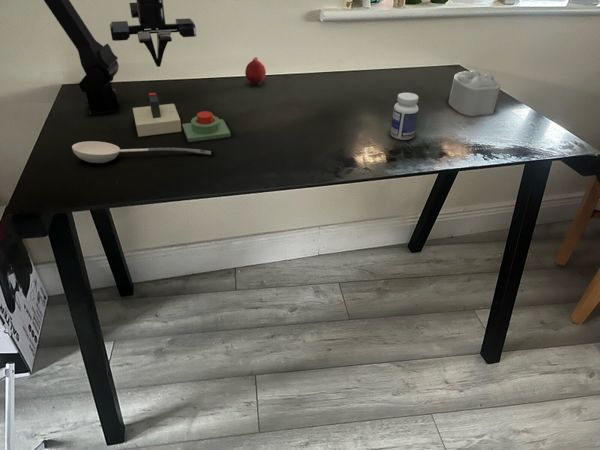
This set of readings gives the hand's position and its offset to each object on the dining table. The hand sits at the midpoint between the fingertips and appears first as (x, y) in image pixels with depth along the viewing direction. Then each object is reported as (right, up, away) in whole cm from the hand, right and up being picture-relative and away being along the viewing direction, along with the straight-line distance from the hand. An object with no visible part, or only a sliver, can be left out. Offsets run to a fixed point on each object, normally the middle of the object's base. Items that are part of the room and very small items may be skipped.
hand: (158, 66), depth 118 cm
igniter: (+12, -16, -1) cm, 20 cm away
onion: (+21, +2, +24) cm, 32 cm away
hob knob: (0, -12, -1) cm, 12 cm away
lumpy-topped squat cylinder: (+80, -6, +16) cm, 82 cm away
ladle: (+1, -24, -12) cm, 27 cm away
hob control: (0, -14, +1) cm, 14 cm away
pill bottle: (+59, -17, 0) cm, 61 cm away
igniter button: (+12, -14, -3) cm, 19 cm away
